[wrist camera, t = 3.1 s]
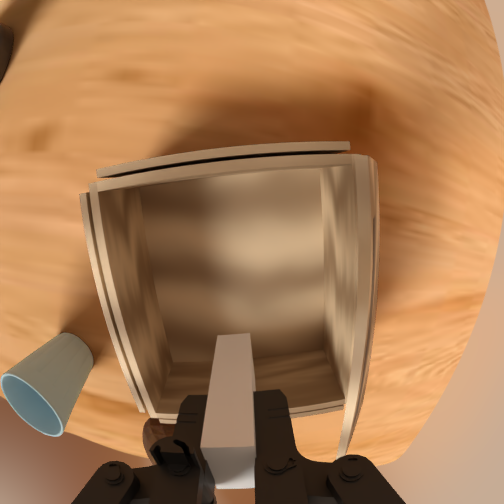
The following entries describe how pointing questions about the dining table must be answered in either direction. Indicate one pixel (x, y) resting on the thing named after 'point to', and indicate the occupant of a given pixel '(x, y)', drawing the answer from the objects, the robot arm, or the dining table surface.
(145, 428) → the potato
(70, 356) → the cup
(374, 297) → the flap
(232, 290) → the carton
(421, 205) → the dining table surface
